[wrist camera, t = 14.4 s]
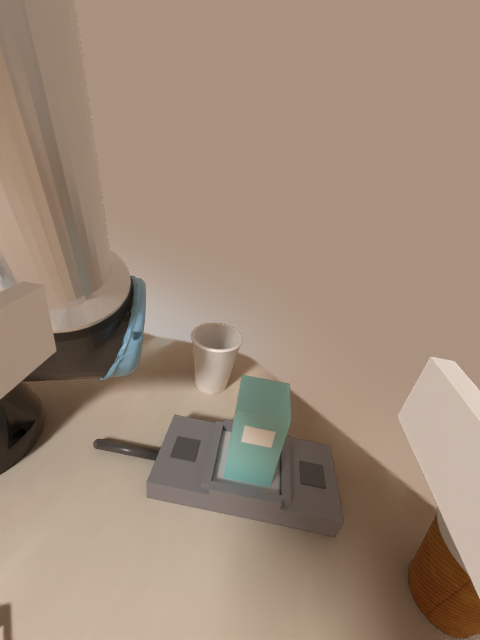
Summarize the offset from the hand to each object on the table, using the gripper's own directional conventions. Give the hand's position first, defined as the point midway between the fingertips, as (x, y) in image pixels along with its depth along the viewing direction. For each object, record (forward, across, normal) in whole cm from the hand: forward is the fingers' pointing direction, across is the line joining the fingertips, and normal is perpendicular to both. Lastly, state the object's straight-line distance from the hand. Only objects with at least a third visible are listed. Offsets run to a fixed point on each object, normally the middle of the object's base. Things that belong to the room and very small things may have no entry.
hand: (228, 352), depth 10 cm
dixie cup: (+32, -4, -30) cm, 44 cm away
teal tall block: (+16, +4, -27) cm, 31 cm away
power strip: (+16, -1, -30) cm, 34 cm away
